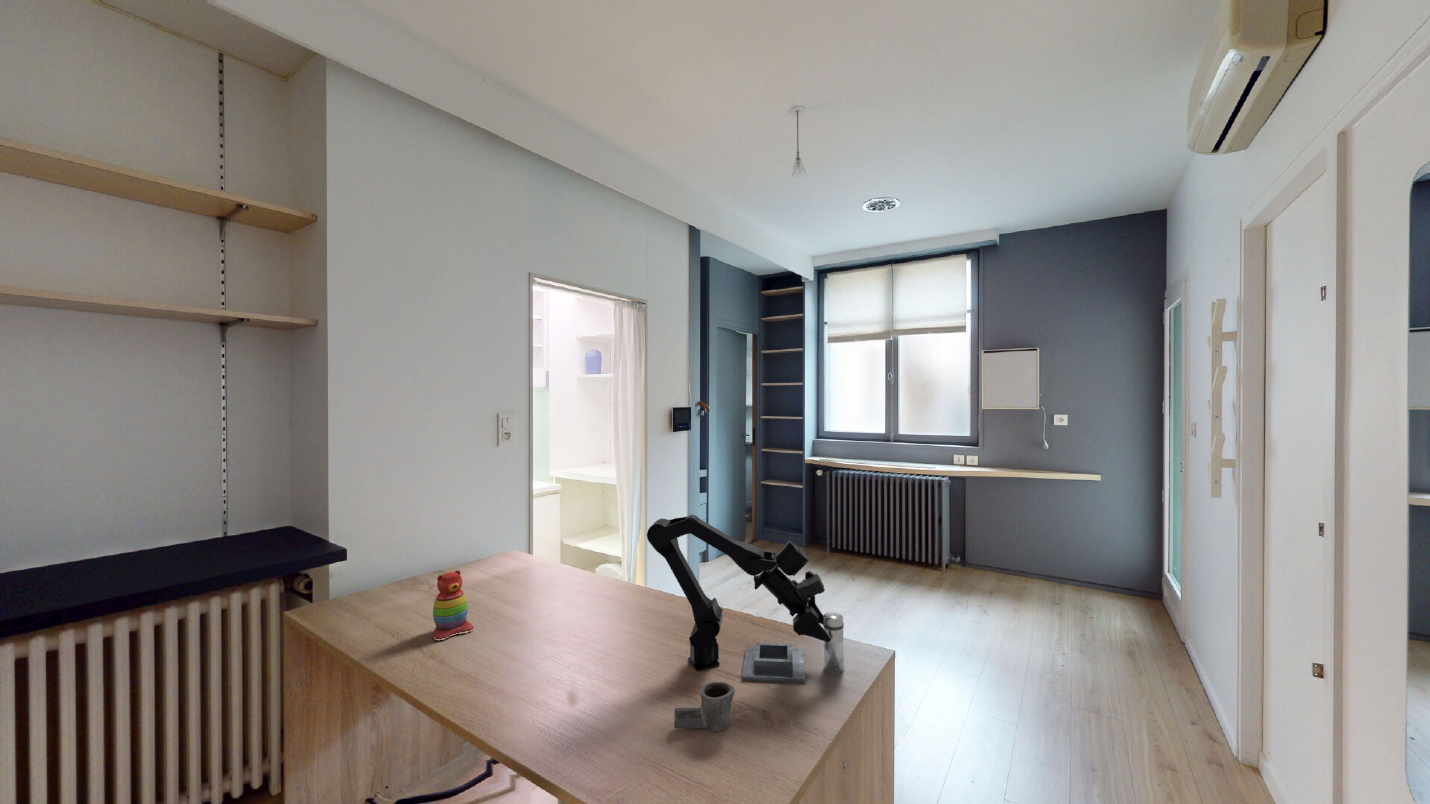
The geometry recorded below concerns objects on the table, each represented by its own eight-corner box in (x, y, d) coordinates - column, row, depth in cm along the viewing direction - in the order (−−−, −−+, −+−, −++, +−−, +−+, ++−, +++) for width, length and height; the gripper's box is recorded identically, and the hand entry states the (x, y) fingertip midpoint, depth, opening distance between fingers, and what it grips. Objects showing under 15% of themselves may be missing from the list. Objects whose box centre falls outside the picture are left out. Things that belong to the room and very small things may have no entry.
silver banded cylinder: (831, 675, 127) (830, 622, 127) (819, 665, 132) (818, 614, 132) (848, 670, 129) (847, 618, 129) (836, 661, 134) (835, 610, 134)
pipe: (674, 721, 111) (673, 684, 110) (734, 717, 112) (733, 680, 112) (674, 740, 105) (673, 701, 104) (737, 735, 106) (736, 696, 106)
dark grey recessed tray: (742, 680, 126) (741, 666, 126) (746, 650, 141) (746, 637, 141) (805, 683, 124) (804, 668, 124) (802, 652, 139) (802, 639, 139)
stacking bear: (436, 643, 150) (434, 581, 149) (427, 632, 157) (425, 573, 157) (475, 631, 157) (473, 572, 156) (465, 621, 164) (463, 564, 164)
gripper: (806, 578, 122) (856, 626, 120) (802, 554, 140) (846, 595, 139) (773, 611, 123) (822, 659, 122) (774, 583, 141) (817, 624, 140)
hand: (828, 632), depth 130 cm, fingers open, 9 cm apart
